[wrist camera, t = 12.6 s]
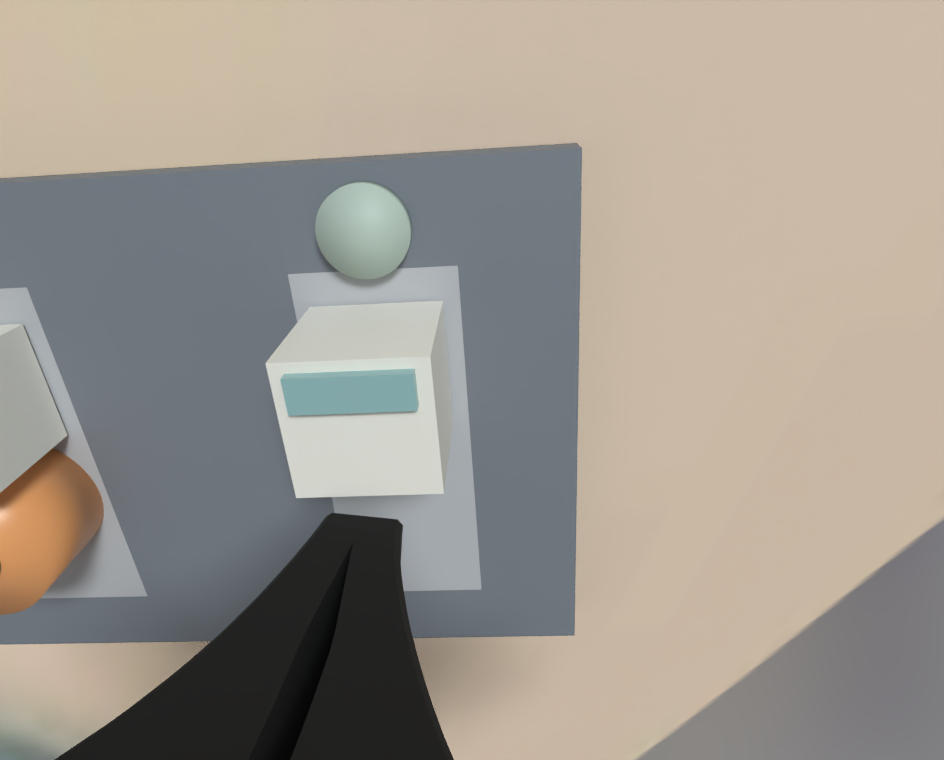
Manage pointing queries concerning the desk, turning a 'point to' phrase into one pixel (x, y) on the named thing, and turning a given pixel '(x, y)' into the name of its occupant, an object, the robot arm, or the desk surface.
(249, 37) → the desk surface
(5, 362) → the block
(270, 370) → the block
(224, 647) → the robot arm
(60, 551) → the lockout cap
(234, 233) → the breaker panel
